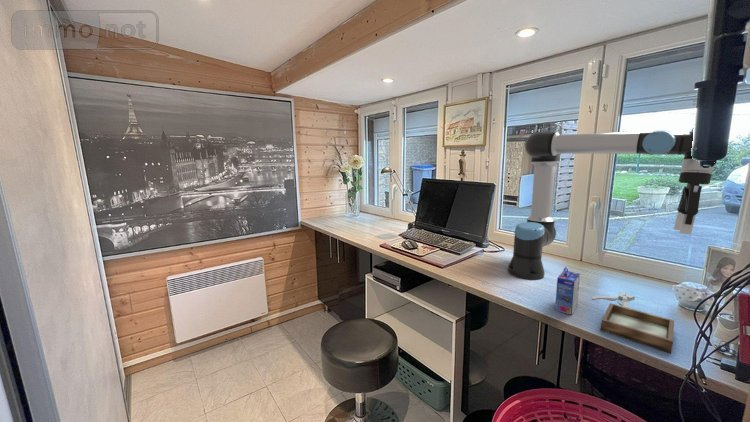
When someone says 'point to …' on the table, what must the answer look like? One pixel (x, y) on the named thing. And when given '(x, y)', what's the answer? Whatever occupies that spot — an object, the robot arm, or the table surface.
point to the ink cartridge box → (567, 291)
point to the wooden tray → (639, 327)
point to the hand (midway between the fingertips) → (681, 231)
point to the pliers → (621, 297)
